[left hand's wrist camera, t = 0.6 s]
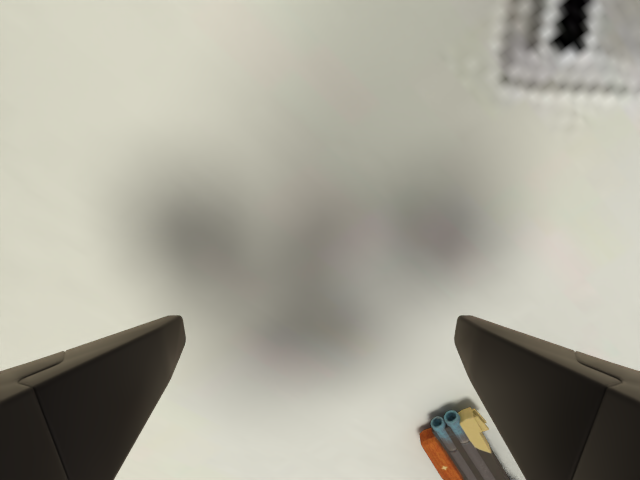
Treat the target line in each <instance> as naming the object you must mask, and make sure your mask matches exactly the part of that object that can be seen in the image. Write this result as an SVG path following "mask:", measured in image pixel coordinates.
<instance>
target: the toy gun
mask: <svg viewBox="0 0 640 480" xmlns="http://www.w3.org/2000/svg"><path fill="white" fill-rule="evenodd" d="M485 423H486V421H485V419H484V418H483V417H482V416H481V415H480V414H479V413H478V412H477V411H476V409H475V408H474V409H471V407H469V408H466V409H463V410H461V411H460V412H458V413H457V412H456V411H454V410H449V411H448V412H446V414H445V415H444V419H443V418H442V417H440V416H437V417H434V418H433V419H432V420H431V428H428V429H426V430H423V431H422V432H421V433H420V440H421V445H422V447H423V449H424V450H425V452H426V453H427V455H428V457H429V458H430V460H431V461H432V463H433V465H434V466H435V468H436V469H437V471H438V473H439V474H440V476H441V477H442V478H443V479H444V480H510V479H509V477H508V476H507V474H506V473H505V471H504V469H503V468H502V466H501V464H500V463H499V461H498V460H497V458H496V456H495V455H494V453H493V451H492V450H491V448H490V446H489V444H488V442H487V440H486V438H485V437H484V435H483V433H482V432H483V431H486V430H489V428H488V427H487V426H486V425H485Z"/></svg>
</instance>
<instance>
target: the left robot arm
mask: <svg viewBox="0 0 640 480" xmlns="http://www.w3.org/2000/svg"><path fill="white" fill-rule="evenodd" d="M185 341H186V336H185V330H184V324H183V319H182V317H181V316H179V315H170V316H166V317H163V318H160V319H157V320H154V321H151V322H148V323H145V324H142V325H140V326H137V327H134V328H131V329H128V330H125V331H122V332H119V333H116V334H113V335H110V336H107V337H104V338H101V339H98V340H96V341H93V342H90V343H87V344H84V345H81V346H78V347H75V348H72V349H69V350H66V352H64V351H62V352H59V353H56V354H53V355H50V356H47V357H44V358H41V359H38V360H35V361H32V362H29V363H26V364H22V365H19V366H16V367H13V368H10V369H6V370H3V371H0V480H114V478H115V477H116V475H117V473H118V471H119V470H120V468H121V466H122V464H123V463H124V461H125V459H126V457H127V455H128V454H129V452H130V450H131V448H132V447H133V445H134V443H135V441H136V440H137V438H138V436H139V434H140V433H141V431H142V429H143V427H144V425H145V424H146V422H147V420H148V418H149V417H150V415H151V413H152V411H153V410H154V408H155V406H156V404H157V403H158V401H159V399H160V397H161V395H162V394H163V392H164V390H165V388H166V387H167V385H168V383H169V381H170V379H171V377H172V375H173V372H174V370H175V368H176V365H177V363H178V360H179V358H180V355H181V353H182V351H183V348H184V346H185ZM454 341H455V346H456V348H457V351H458V353H459V355H460V358H461V360H462V363H463V365H464V368H465V370H466V372H467V375H468V377H469V379H470V381H471V383H472V385H473V387H474V388H475V390H476V392H477V394H478V395H479V397H480V399H481V401H482V403H483V404H484V406H485V408H486V410H487V411H488V413H489V415H490V417H491V418H492V420H493V422H494V424H495V425H496V427H497V429H498V431H499V433H500V434H501V436H502V438H503V440H504V441H505V443H506V445H507V447H508V448H509V450H510V452H511V454H512V455H513V457H514V459H515V461H516V463H517V464H518V466H519V468H520V470H521V471H522V473H523V475H524V477H525V478H526V480H640V371H637V370H634V369H630V368H627V367H624V366H621V365H618V364H614V363H611V362H608V361H605V360H602V359H599V358H596V357H593V356H590V355H587V354H584V353H581V352H578V351H576V352H575V351H574V350H571V349H568V348H565V347H562V346H559V345H556V344H553V343H550V342H547V341H544V340H542V339H539V338H536V337H533V336H530V335H527V334H524V333H521V332H518V331H515V330H512V329H509V328H506V327H503V326H501V325H498V324H495V323H492V322H489V321H486V320H483V319H480V318H477V317H474V316H470V315H461V316H459V317H458V319H457V324H456V330H455V336H454Z"/></svg>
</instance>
